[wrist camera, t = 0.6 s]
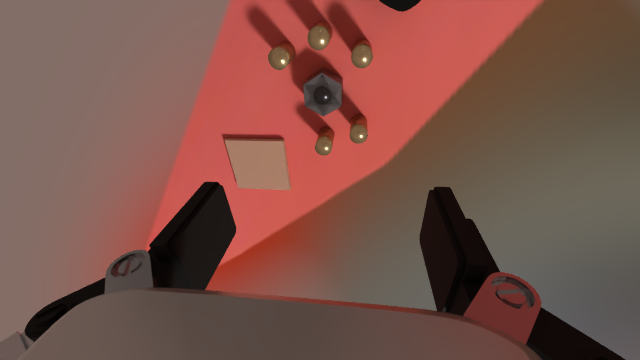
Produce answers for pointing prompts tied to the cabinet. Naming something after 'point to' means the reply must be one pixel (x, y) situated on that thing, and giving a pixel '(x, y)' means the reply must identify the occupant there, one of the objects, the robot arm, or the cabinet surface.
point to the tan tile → (259, 163)
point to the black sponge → (400, 4)
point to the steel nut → (323, 92)
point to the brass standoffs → (360, 59)
